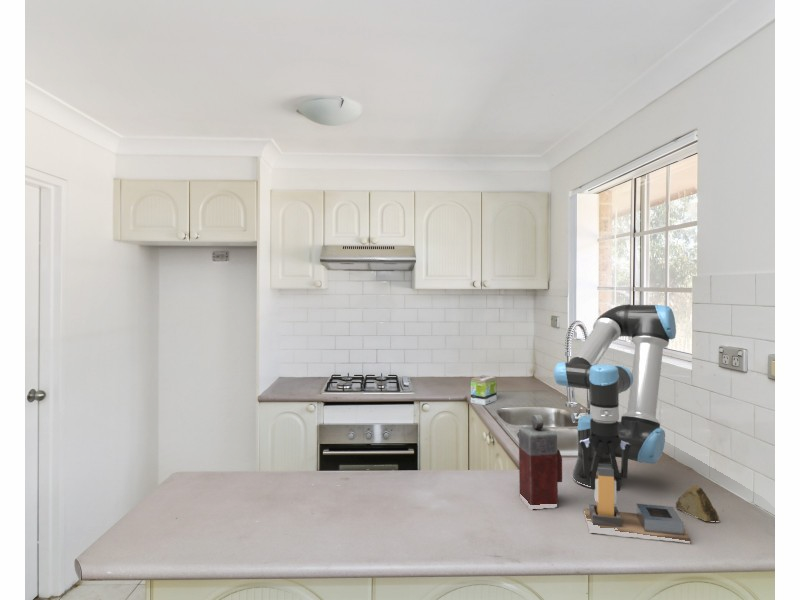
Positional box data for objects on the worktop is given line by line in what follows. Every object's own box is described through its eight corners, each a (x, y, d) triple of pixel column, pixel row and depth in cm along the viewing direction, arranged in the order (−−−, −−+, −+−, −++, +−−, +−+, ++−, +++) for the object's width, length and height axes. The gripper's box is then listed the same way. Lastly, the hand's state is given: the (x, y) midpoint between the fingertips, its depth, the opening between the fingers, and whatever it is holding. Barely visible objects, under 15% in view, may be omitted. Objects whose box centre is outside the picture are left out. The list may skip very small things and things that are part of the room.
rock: (664, 500, 146) (682, 510, 136) (679, 476, 147) (698, 485, 137) (694, 521, 145) (715, 534, 136) (709, 498, 146) (731, 509, 136)
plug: (596, 510, 139) (596, 463, 138) (611, 512, 138) (611, 464, 137) (598, 517, 135) (598, 468, 134) (614, 518, 134) (613, 469, 133)
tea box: (485, 405, 275) (485, 380, 274) (470, 403, 281) (470, 378, 280) (497, 400, 287) (496, 376, 286) (482, 398, 293) (481, 374, 292)
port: (636, 515, 138) (636, 503, 138) (672, 518, 136) (672, 506, 136) (644, 531, 129) (644, 518, 129) (683, 535, 127) (683, 522, 127)
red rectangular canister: (565, 507, 148) (564, 417, 147) (530, 510, 146) (529, 419, 145) (551, 494, 156) (550, 410, 156) (519, 497, 155) (518, 412, 154)
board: (583, 513, 143) (583, 500, 143) (676, 522, 137) (676, 508, 137) (589, 533, 132) (589, 519, 132) (690, 544, 125) (690, 529, 125)
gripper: (573, 422, 134) (574, 503, 135) (640, 425, 130) (641, 509, 130) (571, 414, 141) (572, 492, 142) (634, 417, 137) (634, 497, 138)
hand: (605, 500), depth 136 cm, fingers closed on plug, 4 cm apart
